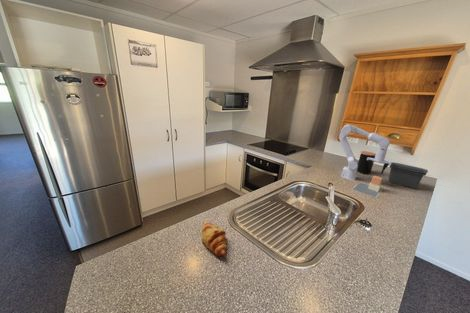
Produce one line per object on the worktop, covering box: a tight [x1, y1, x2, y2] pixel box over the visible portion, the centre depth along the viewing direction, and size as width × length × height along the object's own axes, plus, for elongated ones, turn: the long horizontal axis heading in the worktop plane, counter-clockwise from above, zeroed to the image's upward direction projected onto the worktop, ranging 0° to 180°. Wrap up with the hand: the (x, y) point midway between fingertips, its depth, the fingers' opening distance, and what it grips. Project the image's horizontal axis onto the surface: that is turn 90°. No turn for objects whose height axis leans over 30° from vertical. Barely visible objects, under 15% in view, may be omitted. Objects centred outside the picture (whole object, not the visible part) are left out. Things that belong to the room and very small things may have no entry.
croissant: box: [201, 221, 227, 257], centre depth 78 cm, size 21×10×8 cm, turn 28°
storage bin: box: [388, 161, 429, 190], centre depth 143 cm, size 21×16×14 cm
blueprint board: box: [351, 181, 384, 199], centre depth 131 cm, size 15×20×5 cm
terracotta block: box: [369, 175, 383, 186], centre depth 130 cm, size 5×5×5 cm
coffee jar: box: [357, 150, 376, 175], centre depth 161 cm, size 11×11×18 cm
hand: (375, 171), depth 138 cm, fingers open, 7 cm apart
